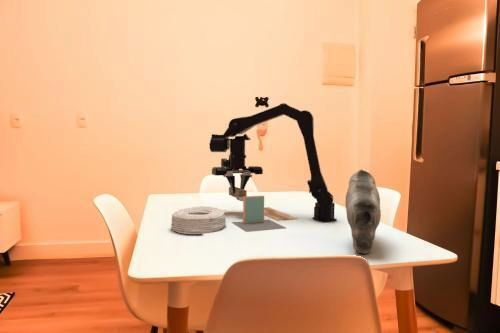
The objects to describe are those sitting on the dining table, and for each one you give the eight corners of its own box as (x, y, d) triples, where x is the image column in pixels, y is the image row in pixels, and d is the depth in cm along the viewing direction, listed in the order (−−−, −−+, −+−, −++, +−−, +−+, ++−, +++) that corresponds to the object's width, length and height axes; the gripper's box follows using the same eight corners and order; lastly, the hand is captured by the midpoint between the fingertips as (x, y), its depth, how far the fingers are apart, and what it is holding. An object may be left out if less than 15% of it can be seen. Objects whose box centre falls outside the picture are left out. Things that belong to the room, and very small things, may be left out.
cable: (215, 221, 128) (215, 204, 128) (234, 233, 112) (234, 213, 112) (166, 226, 121) (165, 208, 120) (178, 238, 105) (178, 218, 104)
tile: (262, 221, 125) (262, 195, 124) (264, 222, 123) (264, 196, 123) (243, 222, 122) (243, 196, 122) (245, 224, 121) (245, 197, 120)
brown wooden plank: (226, 194, 142) (226, 187, 142) (238, 194, 144) (238, 186, 144) (240, 201, 127) (240, 192, 127) (253, 200, 129) (253, 191, 129)
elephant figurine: (382, 259, 87) (385, 175, 86) (344, 255, 89) (346, 174, 88) (374, 234, 111) (376, 168, 110) (344, 231, 114) (346, 167, 112)
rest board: (269, 209, 151) (269, 207, 151) (297, 220, 129) (297, 218, 129) (251, 210, 148) (251, 208, 148) (277, 222, 126) (277, 220, 126)
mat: (268, 221, 128) (268, 219, 128) (287, 229, 115) (287, 228, 115) (231, 224, 123) (231, 222, 123) (246, 233, 110) (246, 231, 110)
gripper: (252, 151, 147) (252, 189, 148) (207, 151, 141) (208, 191, 142) (263, 152, 137) (263, 193, 138) (216, 152, 130) (216, 195, 131)
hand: (237, 193), depth 138 cm, fingers closed on brown wooden plank, 3 cm apart
